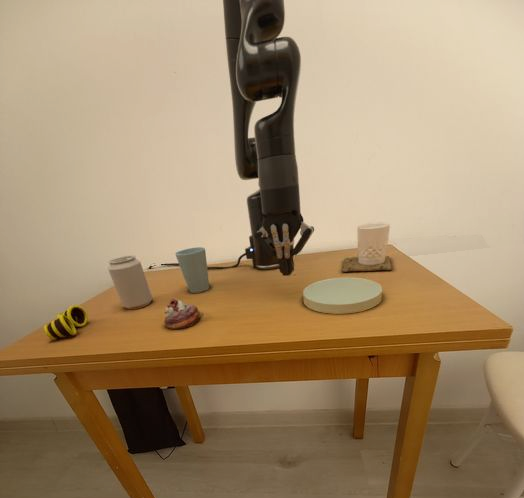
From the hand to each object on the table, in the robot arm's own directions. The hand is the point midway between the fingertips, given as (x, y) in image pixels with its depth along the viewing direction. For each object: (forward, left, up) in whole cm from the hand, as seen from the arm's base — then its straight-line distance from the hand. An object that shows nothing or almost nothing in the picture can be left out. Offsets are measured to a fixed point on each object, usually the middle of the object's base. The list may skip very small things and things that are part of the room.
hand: (287, 274), depth 65 cm
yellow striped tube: (-43, -25, -5) cm, 50 cm away
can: (-38, -9, -5) cm, 40 cm away
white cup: (+15, +25, -5) cm, 30 cm away
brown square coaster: (+14, +24, -5) cm, 28 cm away
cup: (-27, +3, -5) cm, 28 cm away
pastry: (-18, -16, -5) cm, 25 cm away
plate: (+12, 0, -5) cm, 13 cm away
